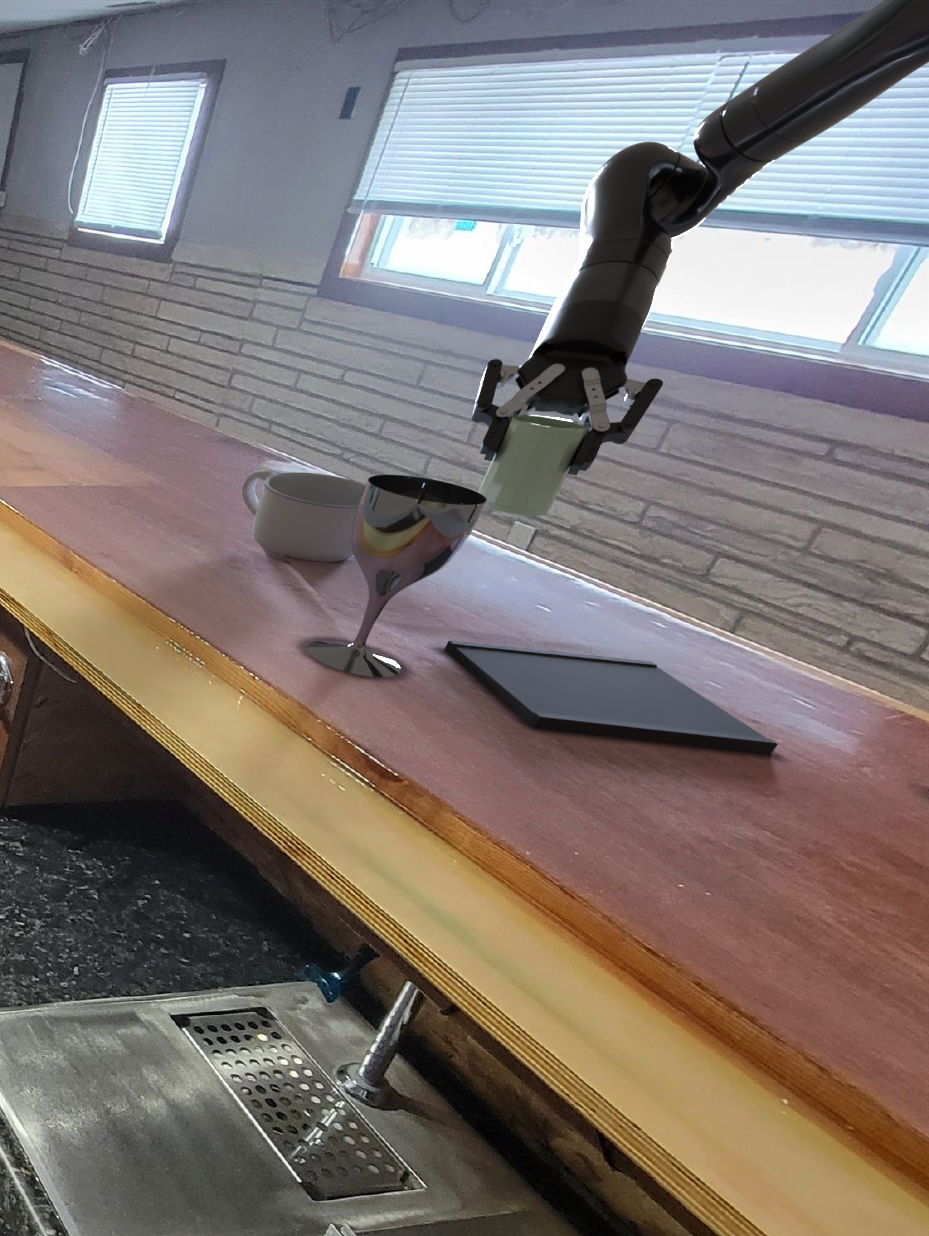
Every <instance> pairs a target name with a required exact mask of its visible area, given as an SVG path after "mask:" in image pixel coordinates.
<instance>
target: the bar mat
mask: <svg viewBox="0 0 929 1236" xmlns="http://www.w3.org/2000/svg"><path fill="white" fill-rule="evenodd" d="M443 652H444V653H446V654H447V655H448V656H449V657H450V658H451V659H453V661H455V662H456V663H457V664H459V665H460V666H461V667H462V668H463V669H464V670H465V671H467V672H468V674H470V675H471V676H472V677H473V678H475V680H476V681H478V682H480V684H482V685H483V687H485V688H486V689H487V690H488V691H490V692H491V693H492V694H493V695H495V697H497V698H498V699H499V700H500V701H502V703H504V705H506V706H507V707H508V708H510V710H512V711H513V712H514V713H515V714H517V715H518V717H520V718H521V719H522V720H523V721H524V722H525V723H527V724H528V725H529V726H530V727H532V729H535V730H543V731H544V730H545V731H553V732H561V733H572V734H578V735H579V734H581V735H587V736H598V737H606V738H614V739H621V740H622V739H623V740H633V741H641V742H648V743H649V742H650V743H658V744H667V745H668V744H669V745H675V746H676V745H677V746H685V747H694V748H703V749H710V750H720V751H729V752H737V753H738V752H739V753H747V754H756V755H763V756H771V754H773V752H774V751H775V749H776V748H777V746H778V742H776V741H774V740H773V739H771V738H767V737H766V736H765V735H763V734H761V733H760V732H758V731H756V730H755V729H754V728H752V727H751V726H749V725H747V724H746V723H744V722H743V721H741V720H740V719H739V718H736V717H735V716H733V714H730V713H729V712H727V711H726V710H724V709H722V708H721V707H720V706H719V705H717V704H715V703H714V702H712V701H710V700H709V699H708V698H706V697H704V696H703V695H702V694H700V693H698V692H697V691H695V690H694V689H692V688H691V687H689V686H687V685H686V684H684V683H683V682H681V681H680V680H678V679H676V677H674V676H672V675H671V674H669V673H667V672H666V671H664V670H663V669H661V668H660V667H658V665H657V664H656V663H655V662H653V661H650V660H640V659H631V658H620V657H610V656H603V655H593V654H583V653H573V652H563V651H554V650H544V649H536V648H535V649H534V648H526V647H525V648H524V647H514V646H505V645H497V644H488V643H487V644H486V643H475V642H469V641H468V642H467V641H457V640H448V642H446V645H445V646H444V650H443Z"/></svg>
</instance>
